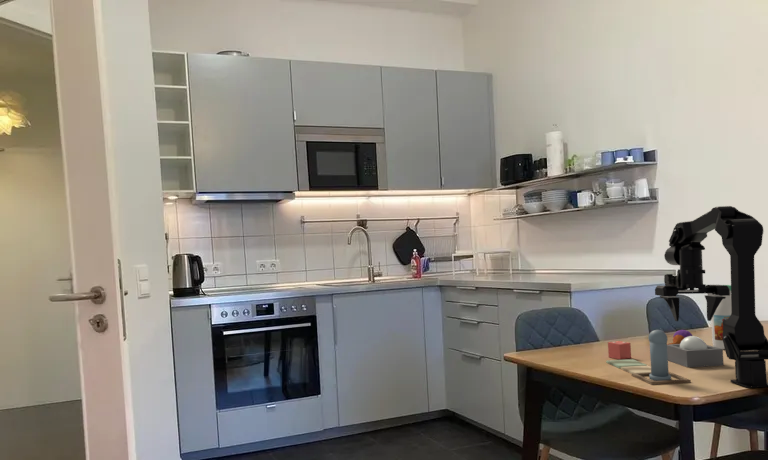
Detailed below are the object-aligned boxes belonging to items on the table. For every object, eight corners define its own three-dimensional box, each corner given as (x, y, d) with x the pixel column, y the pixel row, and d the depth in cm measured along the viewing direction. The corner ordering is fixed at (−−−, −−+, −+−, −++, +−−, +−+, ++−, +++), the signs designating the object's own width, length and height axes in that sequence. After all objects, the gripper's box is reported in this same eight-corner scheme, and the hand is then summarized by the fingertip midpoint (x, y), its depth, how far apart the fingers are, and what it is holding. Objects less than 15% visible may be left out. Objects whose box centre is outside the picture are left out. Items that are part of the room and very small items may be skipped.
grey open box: (723, 365, 158) (722, 349, 158) (687, 367, 157) (686, 350, 157) (700, 358, 168) (699, 342, 168) (666, 360, 168) (665, 344, 168)
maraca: (650, 342, 177) (674, 329, 190) (655, 361, 176) (680, 346, 189) (669, 340, 172) (693, 327, 186) (675, 360, 172) (698, 345, 185)
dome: (714, 362, 159) (712, 337, 160) (689, 363, 159) (688, 338, 159) (698, 357, 167) (697, 333, 167) (674, 358, 166) (673, 334, 166)
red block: (631, 357, 173) (630, 342, 173) (620, 359, 171) (619, 343, 171) (619, 355, 177) (618, 340, 177) (608, 357, 175) (607, 341, 175)
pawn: (675, 380, 143) (672, 330, 144) (655, 381, 143) (653, 331, 143) (664, 376, 148) (661, 328, 149) (645, 377, 148) (642, 328, 148)
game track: (690, 382, 141) (690, 379, 141) (651, 384, 140) (651, 382, 140) (636, 361, 168) (636, 358, 168) (603, 362, 167) (602, 360, 167)
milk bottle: (707, 347, 184) (703, 285, 185) (724, 345, 187) (721, 283, 188) (729, 351, 177) (725, 286, 178) (746, 348, 180) (743, 285, 180)
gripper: (707, 265, 171) (709, 317, 170) (645, 265, 171) (647, 318, 171) (730, 265, 160) (732, 321, 159) (663, 266, 160) (665, 322, 159)
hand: (692, 320), depth 162 cm, fingers open, 9 cm apart
